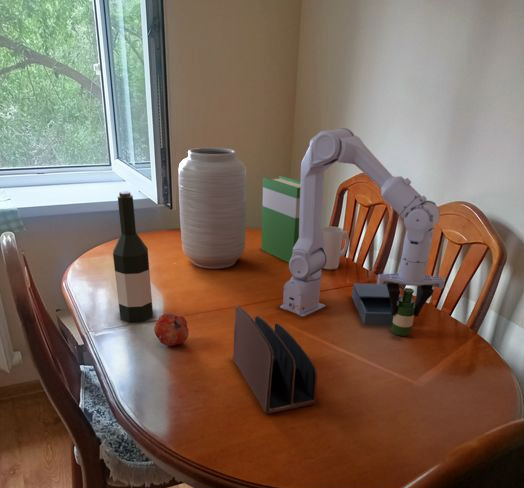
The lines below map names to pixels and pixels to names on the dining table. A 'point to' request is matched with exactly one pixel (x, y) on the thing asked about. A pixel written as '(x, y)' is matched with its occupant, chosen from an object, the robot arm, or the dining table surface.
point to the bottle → (404, 314)
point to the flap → (372, 290)
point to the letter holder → (273, 364)
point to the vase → (212, 207)
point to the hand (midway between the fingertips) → (404, 314)
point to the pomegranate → (171, 329)
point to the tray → (373, 309)
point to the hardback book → (280, 216)
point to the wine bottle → (131, 267)
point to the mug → (334, 245)
